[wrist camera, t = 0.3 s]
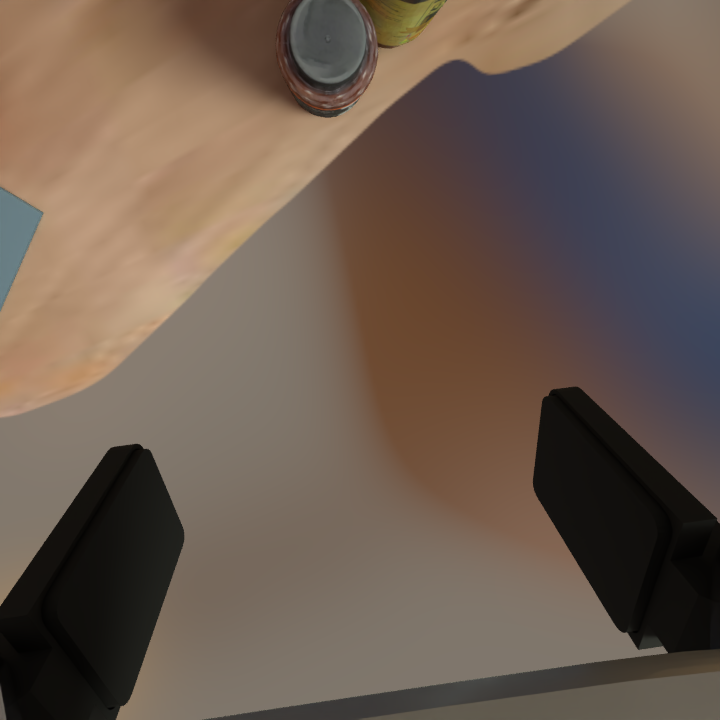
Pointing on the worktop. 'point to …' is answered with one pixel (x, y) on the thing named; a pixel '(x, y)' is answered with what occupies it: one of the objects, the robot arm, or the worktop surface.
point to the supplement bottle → (326, 53)
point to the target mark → (14, 237)
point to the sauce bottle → (400, 19)
